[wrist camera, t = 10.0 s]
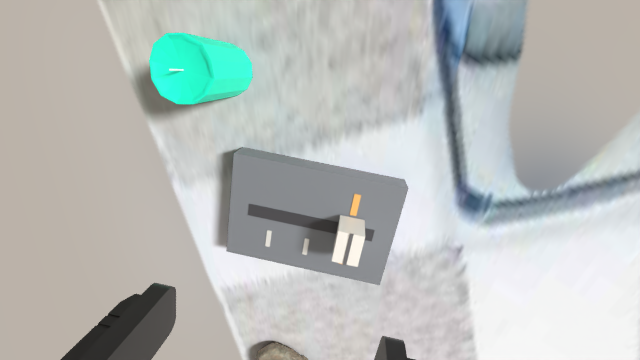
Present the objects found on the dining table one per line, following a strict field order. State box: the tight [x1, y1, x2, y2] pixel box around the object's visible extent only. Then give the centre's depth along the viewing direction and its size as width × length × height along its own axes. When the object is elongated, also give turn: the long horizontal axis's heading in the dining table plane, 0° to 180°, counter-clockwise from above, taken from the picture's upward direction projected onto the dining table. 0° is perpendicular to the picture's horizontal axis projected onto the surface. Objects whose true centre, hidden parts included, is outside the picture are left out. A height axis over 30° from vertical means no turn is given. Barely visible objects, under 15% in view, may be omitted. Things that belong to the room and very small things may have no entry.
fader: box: [332, 215, 365, 267], centre depth 36 cm, size 4×3×4 cm
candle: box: [149, 33, 253, 104], centre depth 31 cm, size 6×6×12 cm
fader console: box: [227, 147, 408, 285], centre depth 40 cm, size 14×21×3 cm, turn 80°
